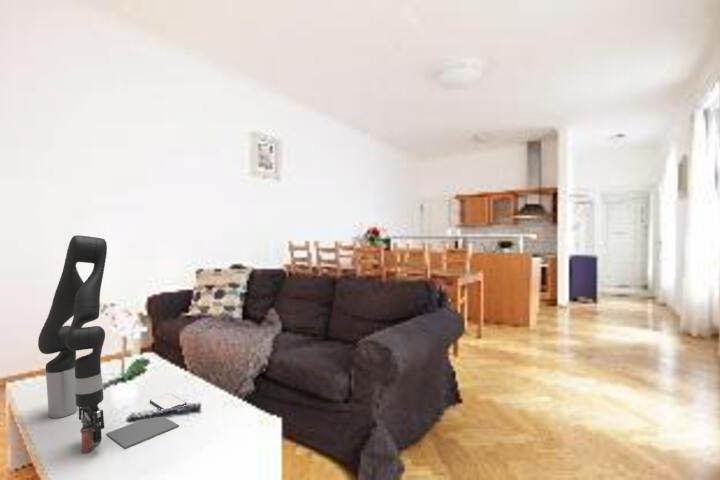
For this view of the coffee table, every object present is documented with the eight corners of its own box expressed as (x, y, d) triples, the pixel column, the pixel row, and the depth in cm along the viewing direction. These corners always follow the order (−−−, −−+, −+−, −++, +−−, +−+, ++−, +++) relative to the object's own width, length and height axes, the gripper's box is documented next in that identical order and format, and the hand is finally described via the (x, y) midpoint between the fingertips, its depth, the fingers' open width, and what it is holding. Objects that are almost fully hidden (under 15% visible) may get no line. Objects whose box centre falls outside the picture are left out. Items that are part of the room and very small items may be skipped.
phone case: (148, 403, 170) (165, 414, 160) (148, 399, 170) (165, 410, 160) (170, 396, 177) (188, 406, 166) (170, 393, 177) (188, 402, 166)
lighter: (92, 440, 141) (91, 411, 141) (103, 440, 141) (101, 410, 141) (78, 454, 133) (77, 423, 133) (90, 453, 133) (88, 422, 133)
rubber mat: (106, 435, 145) (106, 433, 145) (158, 415, 159) (158, 413, 159) (125, 449, 135) (125, 447, 135) (179, 426, 149) (178, 425, 149)
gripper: (110, 389, 135) (113, 439, 136) (93, 380, 144) (96, 426, 144) (84, 397, 129) (87, 449, 130) (67, 387, 138) (70, 436, 139)
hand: (92, 437), depth 137 cm, fingers open, 8 cm apart
